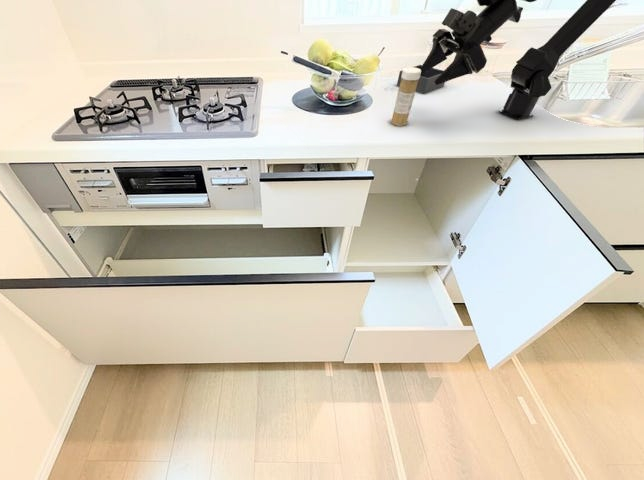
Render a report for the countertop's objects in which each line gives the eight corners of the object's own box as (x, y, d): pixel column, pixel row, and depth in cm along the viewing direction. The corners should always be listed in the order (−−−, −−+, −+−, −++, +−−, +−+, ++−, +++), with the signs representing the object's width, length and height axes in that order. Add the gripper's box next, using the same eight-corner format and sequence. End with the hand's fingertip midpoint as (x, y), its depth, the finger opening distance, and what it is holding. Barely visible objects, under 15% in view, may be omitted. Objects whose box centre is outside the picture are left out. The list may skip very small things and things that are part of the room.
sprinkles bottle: (396, 118, 95) (410, 65, 85) (410, 123, 92) (425, 69, 82) (387, 122, 93) (399, 69, 83) (400, 127, 91) (414, 73, 81)
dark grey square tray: (443, 86, 112) (448, 71, 109) (423, 94, 108) (428, 78, 104) (416, 78, 118) (420, 64, 115) (396, 85, 114) (399, 71, 111)
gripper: (454, -13, 79) (398, 44, 86) (498, -2, 66) (429, 64, 74) (470, 26, 85) (417, 75, 93) (514, 43, 73) (448, 99, 80)
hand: (427, 78), depth 85 cm, fingers open, 9 cm apart
